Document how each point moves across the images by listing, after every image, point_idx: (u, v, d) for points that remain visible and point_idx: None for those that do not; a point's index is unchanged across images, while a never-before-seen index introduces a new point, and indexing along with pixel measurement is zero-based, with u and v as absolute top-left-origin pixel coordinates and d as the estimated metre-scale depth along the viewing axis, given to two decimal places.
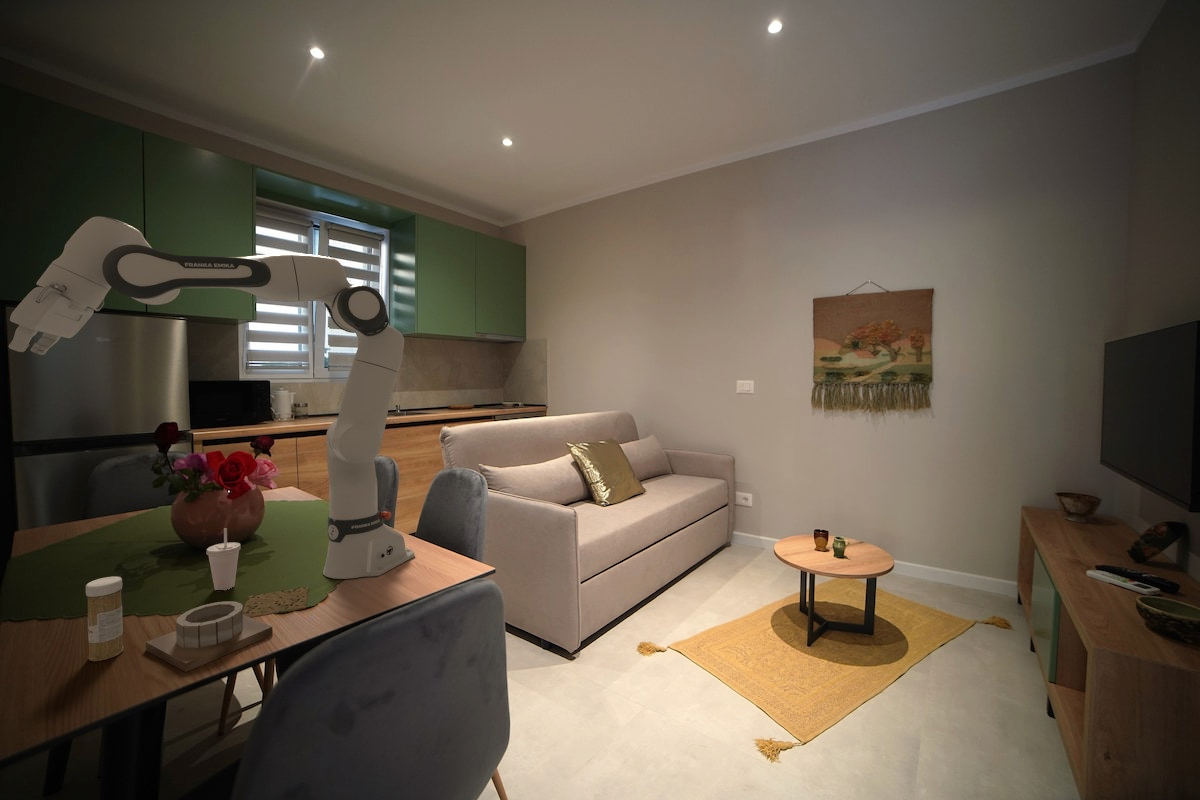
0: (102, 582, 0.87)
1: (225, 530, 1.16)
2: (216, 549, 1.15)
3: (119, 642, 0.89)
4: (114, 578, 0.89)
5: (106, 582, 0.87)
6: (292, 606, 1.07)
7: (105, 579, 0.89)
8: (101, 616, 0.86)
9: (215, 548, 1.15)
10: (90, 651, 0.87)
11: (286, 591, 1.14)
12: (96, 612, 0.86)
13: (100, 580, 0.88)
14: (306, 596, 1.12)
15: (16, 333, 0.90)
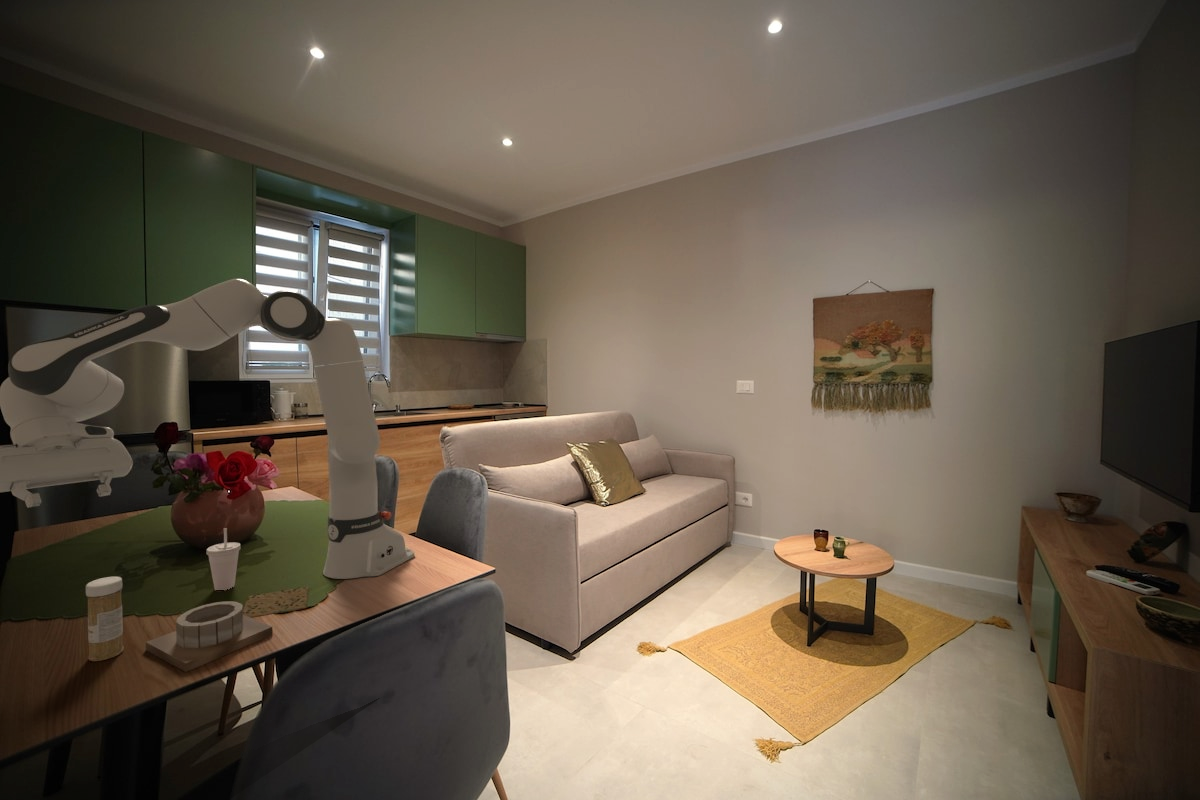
0: (102, 582, 0.87)
1: (225, 530, 1.16)
2: (216, 549, 1.15)
3: (119, 642, 0.89)
4: (114, 578, 0.89)
5: (106, 582, 0.87)
6: (292, 606, 1.07)
7: (105, 579, 0.89)
8: (101, 616, 0.86)
9: (215, 548, 1.15)
10: (90, 651, 0.87)
11: (286, 591, 1.14)
12: (96, 612, 0.86)
13: (100, 580, 0.88)
14: (306, 596, 1.12)
15: (16, 496, 0.89)
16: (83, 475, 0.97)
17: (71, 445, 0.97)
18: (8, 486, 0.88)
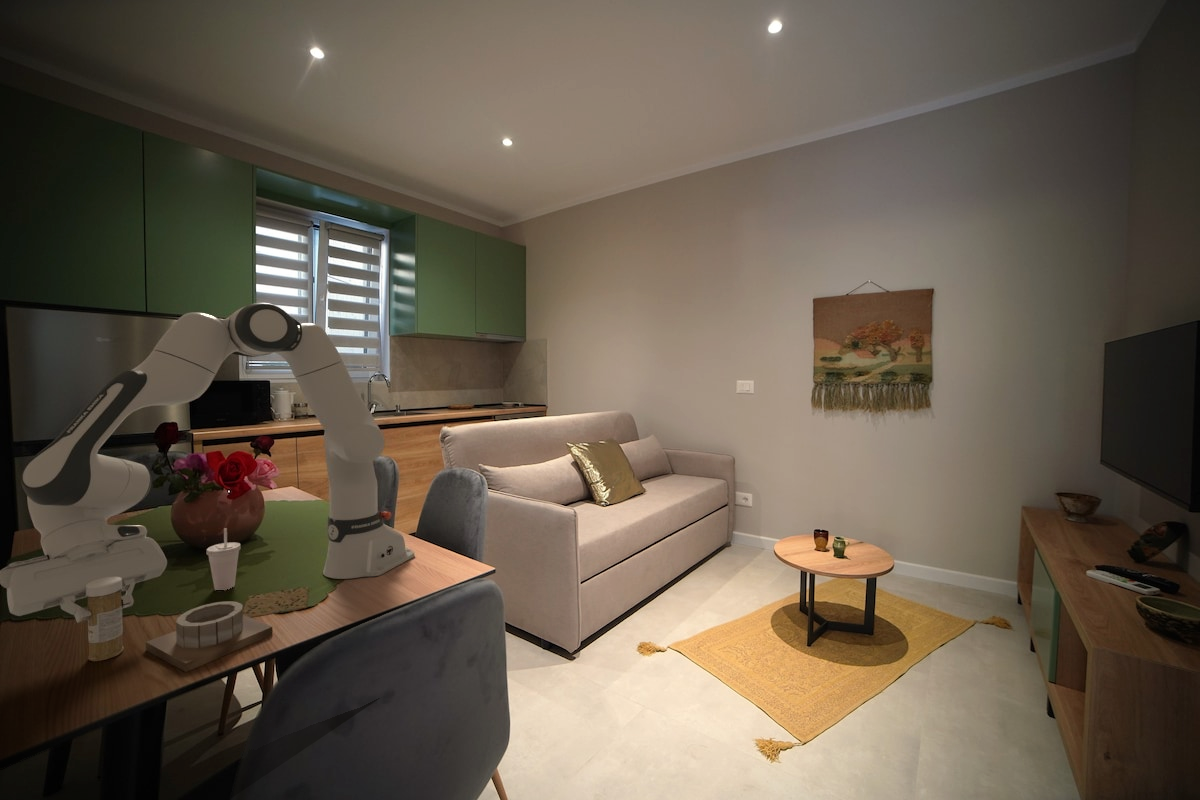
0: (102, 582, 0.87)
1: (225, 530, 1.16)
2: (216, 549, 1.15)
3: (119, 642, 0.89)
4: (114, 578, 0.89)
5: (106, 582, 0.87)
6: (293, 606, 1.07)
7: (105, 579, 0.89)
8: (101, 616, 0.86)
9: (215, 548, 1.15)
10: (90, 651, 0.87)
11: (286, 591, 1.14)
12: (96, 612, 0.86)
13: (100, 580, 0.88)
14: (307, 596, 1.12)
15: (65, 610, 0.85)
16: None
17: (104, 551, 0.92)
18: (41, 605, 0.83)
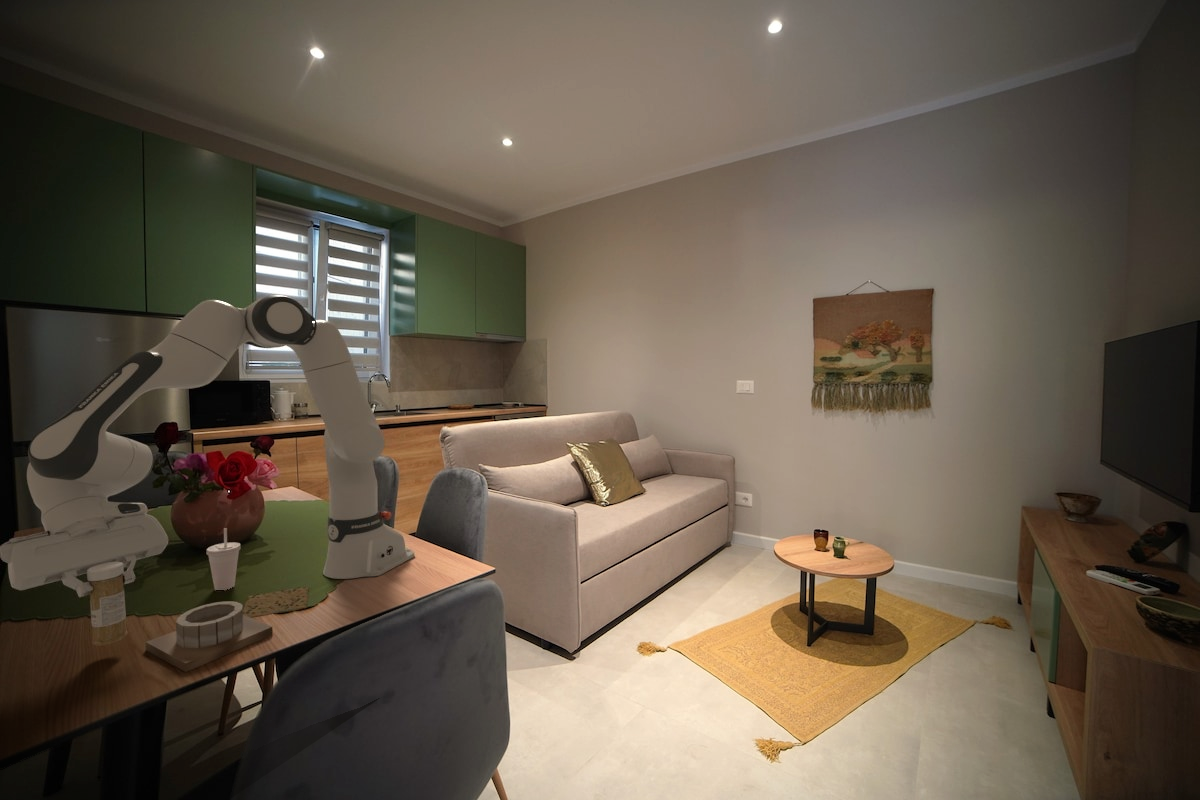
0: (103, 566, 0.88)
1: (225, 530, 1.16)
2: (216, 549, 1.15)
3: (122, 626, 0.89)
4: (115, 563, 0.89)
5: (107, 567, 0.87)
6: (293, 606, 1.07)
7: (106, 564, 0.89)
8: (103, 600, 0.87)
9: (215, 548, 1.15)
10: (93, 635, 0.87)
11: (286, 591, 1.14)
12: (98, 596, 0.86)
13: (101, 565, 0.88)
14: (307, 596, 1.12)
15: (67, 585, 0.85)
16: (118, 558, 0.92)
17: (105, 527, 0.92)
18: (43, 580, 0.83)
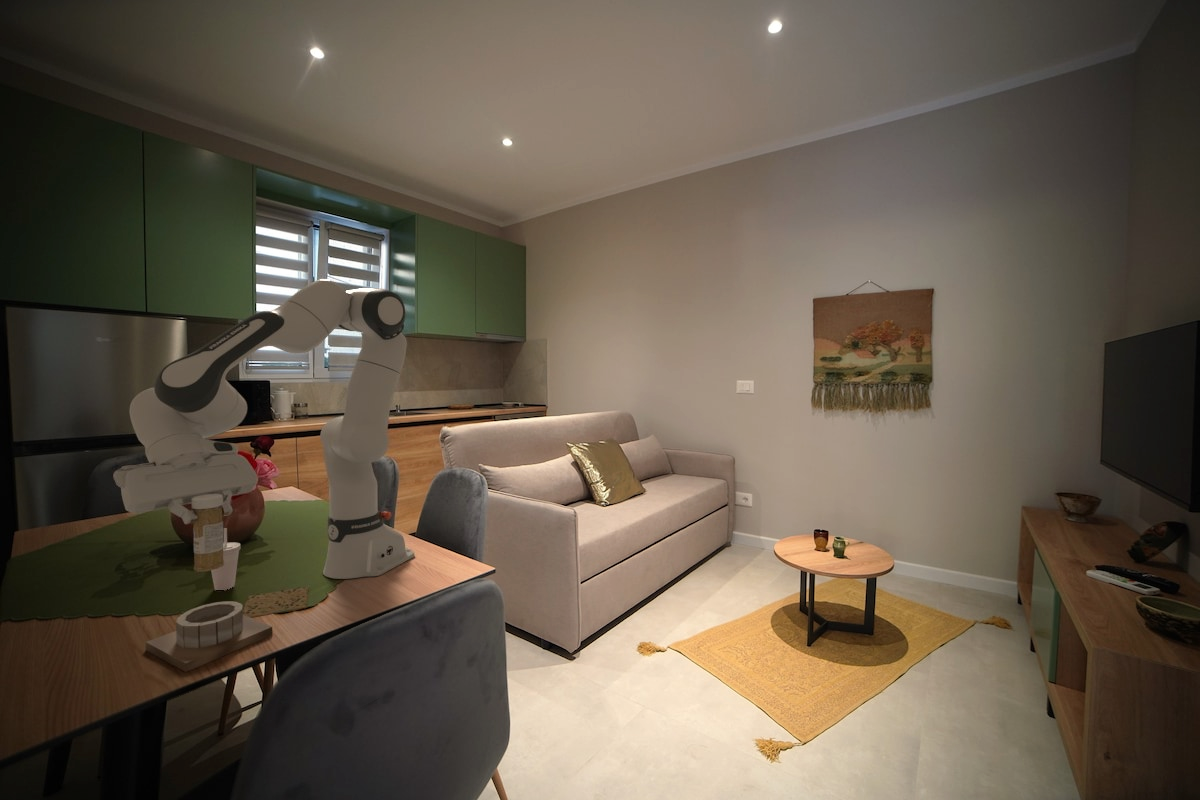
0: (206, 496, 0.92)
1: (225, 530, 1.16)
2: None
3: (221, 555, 0.93)
4: (216, 494, 0.93)
5: (210, 497, 0.92)
6: (293, 606, 1.07)
7: (208, 495, 0.93)
8: (206, 528, 0.91)
9: None
10: (196, 562, 0.91)
11: (286, 591, 1.14)
12: (202, 524, 0.90)
13: (203, 495, 0.92)
14: (307, 596, 1.12)
15: (174, 513, 0.89)
16: None
17: (203, 462, 0.96)
18: (153, 505, 0.87)
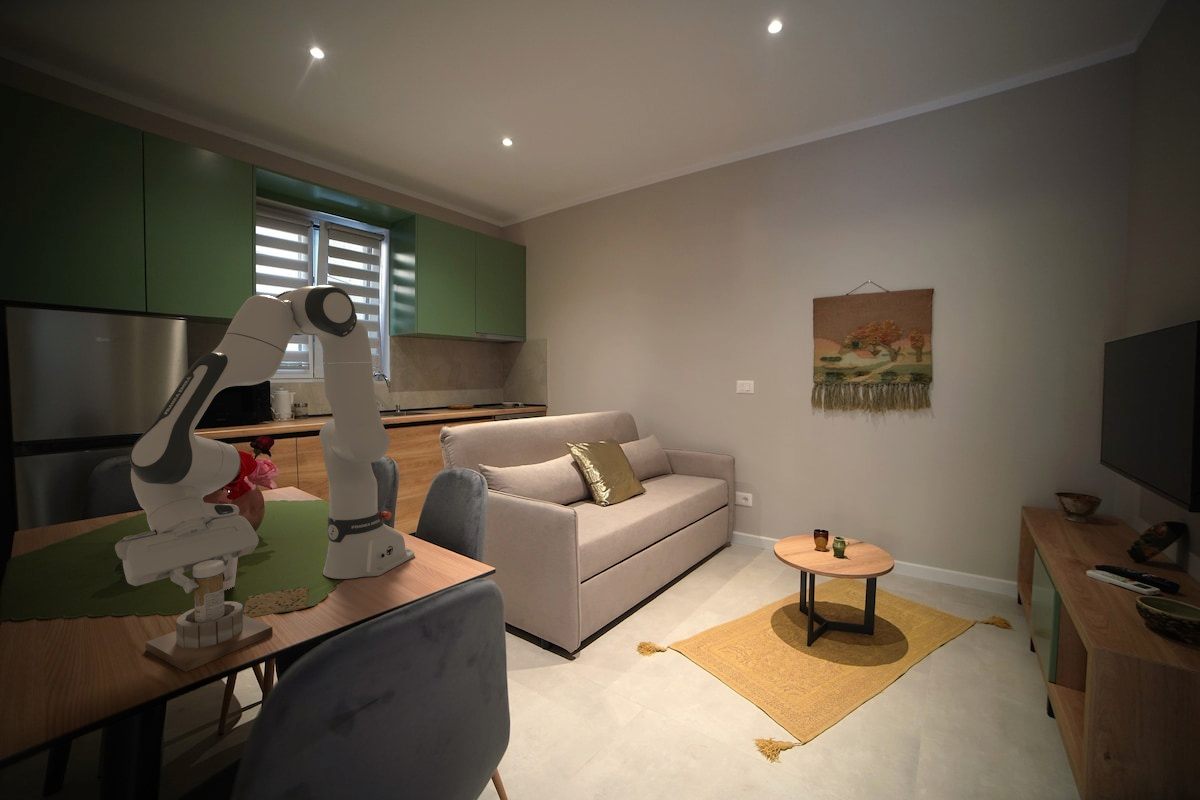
0: (207, 564, 0.92)
1: None
2: None
3: None
4: (216, 561, 0.94)
5: (211, 565, 0.92)
6: (293, 606, 1.07)
7: (209, 562, 0.93)
8: (207, 596, 0.91)
9: None
10: None
11: (286, 591, 1.14)
12: (203, 593, 0.91)
13: (204, 563, 0.93)
14: (307, 596, 1.12)
15: (175, 582, 0.90)
16: (216, 557, 0.97)
17: (204, 527, 0.96)
18: (155, 577, 0.88)
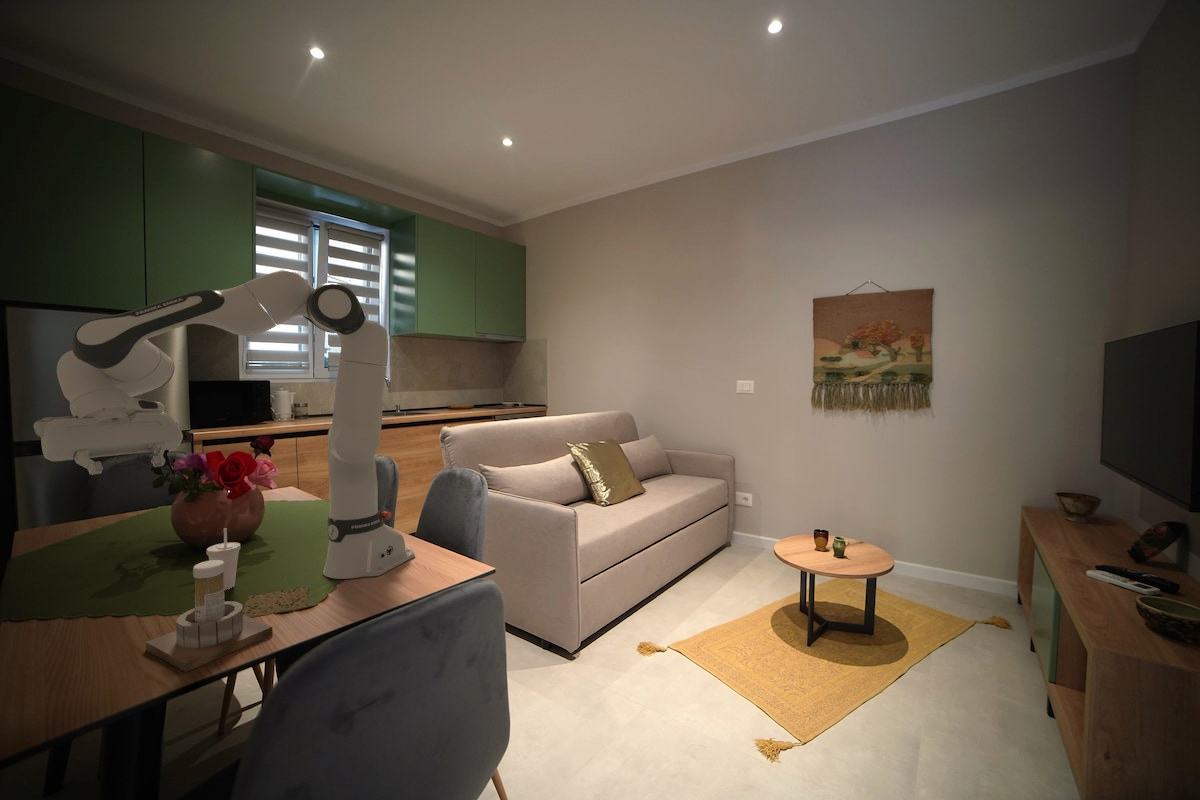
0: (208, 565, 0.92)
1: (225, 530, 1.16)
2: (216, 549, 1.15)
3: None
4: (217, 561, 0.94)
5: (211, 565, 0.92)
6: (293, 606, 1.07)
7: (209, 562, 0.93)
8: (208, 597, 0.91)
9: (215, 548, 1.15)
10: None
11: (286, 591, 1.14)
12: (203, 593, 0.91)
13: (205, 563, 0.93)
14: (307, 596, 1.13)
15: (79, 464, 0.93)
16: (138, 446, 1.01)
17: (127, 418, 1.01)
18: (72, 454, 0.92)
